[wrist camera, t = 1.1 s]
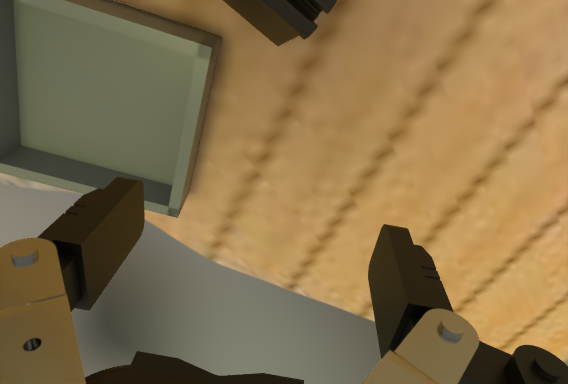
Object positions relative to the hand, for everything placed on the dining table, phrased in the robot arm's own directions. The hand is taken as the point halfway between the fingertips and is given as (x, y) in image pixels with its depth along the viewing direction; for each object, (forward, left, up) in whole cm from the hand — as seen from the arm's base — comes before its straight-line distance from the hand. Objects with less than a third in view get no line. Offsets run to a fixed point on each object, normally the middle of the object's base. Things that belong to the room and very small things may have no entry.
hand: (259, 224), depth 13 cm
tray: (-14, -8, -24) cm, 28 cm away
